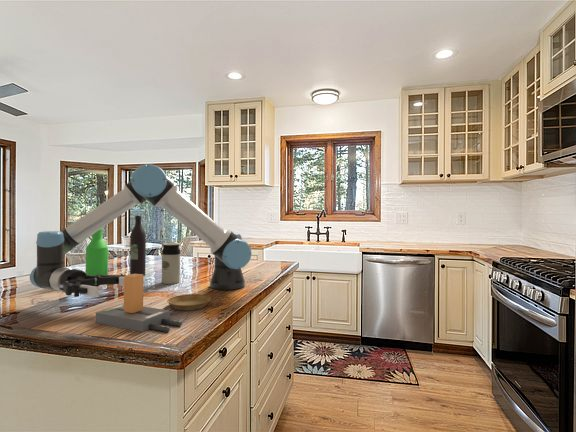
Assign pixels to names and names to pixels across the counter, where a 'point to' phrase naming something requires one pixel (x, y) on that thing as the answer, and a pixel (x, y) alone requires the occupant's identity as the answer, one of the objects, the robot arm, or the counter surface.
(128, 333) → the counter surface
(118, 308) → the switch box
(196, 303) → the plant saucer
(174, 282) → the travel mug
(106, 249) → the bottle
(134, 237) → the wine bottle
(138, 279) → the breaker handle
